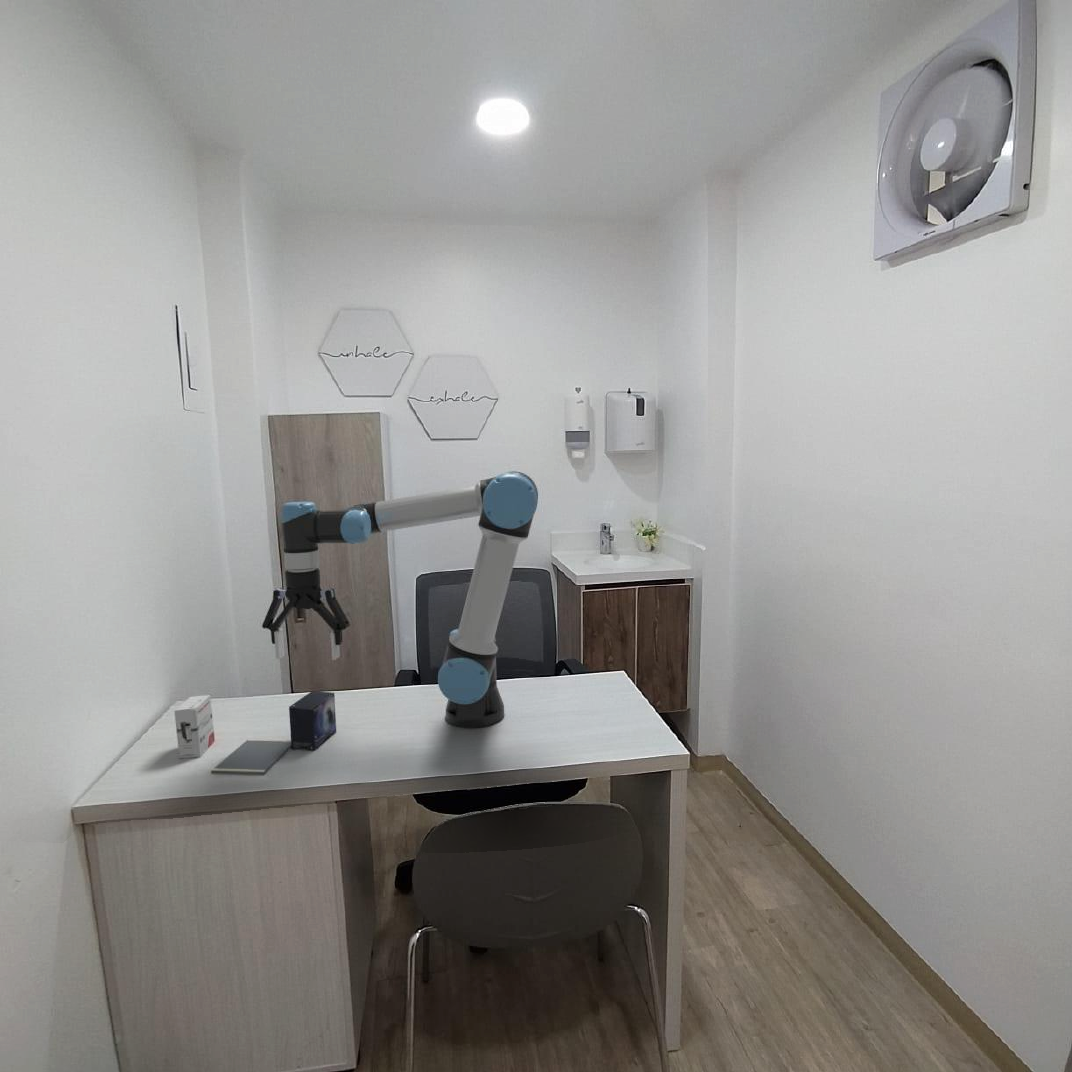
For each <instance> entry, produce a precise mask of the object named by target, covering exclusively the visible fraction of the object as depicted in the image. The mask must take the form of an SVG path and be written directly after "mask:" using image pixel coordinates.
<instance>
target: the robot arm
mask: <svg viewBox="0 0 1072 1072" xmlns="http://www.w3.org/2000/svg"><path fill="white" fill-rule="evenodd" d="M538 500H539V491H538V488H537V485H536V483H535V482H534V480H533V479H532V478H531V477H530V475H529V476H528V474H525V473H524V472H521V471H514V470H513V471H507V472H504V473H501V474H498V475H496V476H494V477H490V478H487V479H482V480H478V482H477V483H476V484H475V485H469V486H463V487H458V488H453V489H452V488H451V489H446V490H440V491H435V492H429V493H423V494H416V495H411V496H410V495H409V496H405V497H399V498H393V499H388V500H387V499H386V500H381V501H376V502H370V503H359V504H355V505H353V506H350V507H347V508H344V509H341V510H340V509H339V510H317V506H316V503H315V502H313V501H292V502H285V503H284V504H283V505H282V506H281V518H280V519H281V521H280V525H281V531H282V533H281V534H282V544H283V558H284V559H283V562H284V569H285V570H286V571H285V572H284V575H285V586H286V589H283V588H282V587H280V588H277V589H275V590H273V592H272V600H271V603H270V606H269V609H268V610H267V612H266V616H265V617H264V620H263V622H262V625H261V628H263V629H267V630H269V631H270V639H271V643H272V645H274V647H275V659H277V660H278V659H279V660H280V659H281V658H283V657H284V656H285V655H286V653H285V652H286V651H285V639H284V638H285V637H284V629H283V628H281V626H282V625H283V623H284V622H285V621H286V619H287V618H288V617H289V616H290V614H291V613H292V611H293V610H294V609H296V610H302V609H303V610H304V609H305V610H311V609H312V610H313V611H314V612H317V614H318V615H319V616H320V617H321V618H322V620H323V621H325V623H326V624H327V625H328V626H329V627H330V629H332V631H331V632H330V646H331V647H330V649H331V660H332V661H336V660H337V659H338V658H339V657H340V656H341V654H340V652H341V651H340V645H341V644H343V639H344V638H343V630H346V629H348V627H350V623H351V622H349V620H348V617H347V616H346V613H345V612H344V610H343V609H342V607H341V605H340V604H339V601H338V600H337V597H336V594H335V589H334V588H331V587H330V588H328V589H325V590H324V589H323V590H322V588H321V572H320V571H321V570H320V569H319V568H318V567H319V566H320V557H319V544H350V545H353V544H360V543H361V544H363V543H366V542H368V541H369V539H370V537H371V535H373V534H377V533H383V532H389V531H394V530H395V531H396V530H401V529H407V528H413V527H418V526H425V525H431V524H437V523H438V524H439V523H443V522H451V521H456V520H463V519H468V518H474V517H479V520H478V524H477V526H478V528H479V530H480V531H481V533H482V535H481V540H480V544H479V547H478V551H477V555H476V559H475V563H474V566H473V571H472V575H471V578H470V583H469V586H468V591H467V593H466V594H467V595H466V599H465V603H464V606H463V611H462V614H461V619H460V622H459V626H458V628H456V629H454V630H453V629H452V631H450V633H449V636H448V637H449V639H448V642H447V645H446V646H447V647H446V650H445V654H444V658H443V662H442V665H441V667H440V668H439V670H438V674H437V683H438V684H437V685H438V687H439V691H441V694H442V695H443V696H444V697H445V698H446V699H447V703H446V706H445V719H446V721H447V722H448V723H449V724H450V725H453V726H455V727H460V728H473V729H474V728H482V727H486V726H487V727H488V726H491V725H493V724H496V723H499V722H500V721H501V720H502V719H503V718H504V717H505V705H504V701H503V699H502V697H501V694H500V691H499V688H498V684H497V680H498V679H497V655H498V650H499V648H498V646H497V644H496V643H497V639H496V633H497V631H498V629H497V628H498V625H499V621H500V617H501V614H502V610H503V607H504V603H505V599H506V595H507V592H508V589H509V583H510V581H511V580H510V579H511V577H512V572H513V568H514V565H515V560H516V557H517V555H518V554H517V553H518V551H519V546H520V544H521V543H522V542H523V541H526V540H527V539H528V537H529V534H530V530H531V526H532V523H533V518H534V515H535V513H536V511H537V507H538V503H539V501H538ZM285 597H286V598H287V600H288V601H289V602H288V603H287V604H286V605H285V606H284V608H283V609H282V611H281V613H280V614H279V615H278V616H277V613H278V610H279V608H280V606H281V604H282V602H283V599H284V598H285ZM322 597H323V599H324V600H325V601H326V603H327V605H328V607H329V609H328V608H327V607H326V606H325V603H324V602H323V600H321V598H322ZM330 610H331V611H330ZM275 618H276V619H275Z"/></svg>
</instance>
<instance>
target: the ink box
mask: <svg viewBox="0 0 1072 1072" xmlns="http://www.w3.org/2000/svg"><path fill="white" fill-rule="evenodd" d="M173 711H174V720H175V728H176V730H175V731H176V739H177V748H178V749H177V750H178V757H179V759H184V758H185V759H187V758H188V759H189V758H190V759H191V758H201V757H202V756H203V754H204V753H206V752H207V750H208V749H209V748H210V747H211V746H212V745H213V743H214V742H215V741H216V740H215V732H214V731H215V730H214V720H213V719H214V718H213V709H212V701H211V695H209V694H208V695H207V694H204V695H196V696H190V697H188V698H187V699H186V700H185V701H183V702H182V703H181V704H180V705H179V706H178V707H177V708H176V709H175V710H173Z"/></svg>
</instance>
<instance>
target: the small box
mask: <svg viewBox="0 0 1072 1072" xmlns="http://www.w3.org/2000/svg"><path fill="white" fill-rule="evenodd" d="M335 700H336V698H335V692H329V691H328V692H327V691H320V690H319V691H318V690H312V691H310V692H308V693H307V694H306V695H305V696H303V697H301V698H299V700H297V701H296V702H294V703H292V704H291V705H289V706H288V712H289V713H288V714H289V727H290V740H291V748H290V750H291V749H292V750H301V751H310V752H312V751H313V752H314V751H316V750H317V749H319V747H321V746H322V745H323V744H324V743H325V742H326V741H328V740H329V739H330V738H331V737H333V736H334V735H335V734H337V721H336V715H337V714H336V701H335Z"/></svg>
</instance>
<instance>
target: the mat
mask: <svg viewBox="0 0 1072 1072" xmlns="http://www.w3.org/2000/svg"><path fill="white" fill-rule="evenodd" d="M289 750H291V739H267V738H265V739H264V738H263V739H262V738H261V739H260V738H248V739H246V740H245V741H244V742H243V743H241V744H240V745H239V746H238V747H237V748H236V749H235V750H234V751H232V752H231V753H230V754H229V755H228V756H226V757H225V758H224V759H223V760H222V761H220V763H218V764H217V765H216V766H214V767H213V768H212V769H211V770H210V773H211V774H224V775H229V774H231V775H252V776H253V775H255V776H256V775H258V776H260V775H261V776H264V775H266V773H267V772H269V770H271V768H272V767H273V766H275V764H277V762H279V760H280V759H282V757H284V756H285V754H286V753H287V752H289Z"/></svg>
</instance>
